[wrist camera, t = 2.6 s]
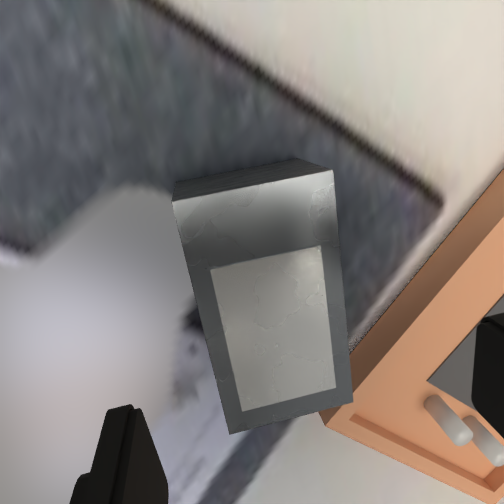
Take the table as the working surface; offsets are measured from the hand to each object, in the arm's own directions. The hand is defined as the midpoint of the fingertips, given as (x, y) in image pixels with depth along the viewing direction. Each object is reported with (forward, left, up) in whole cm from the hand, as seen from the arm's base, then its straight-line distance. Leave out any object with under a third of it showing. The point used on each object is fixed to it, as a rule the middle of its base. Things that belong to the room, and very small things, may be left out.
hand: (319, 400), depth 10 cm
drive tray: (+6, -16, -10) cm, 20 cm away
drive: (0, 0, -11) cm, 11 cm away
